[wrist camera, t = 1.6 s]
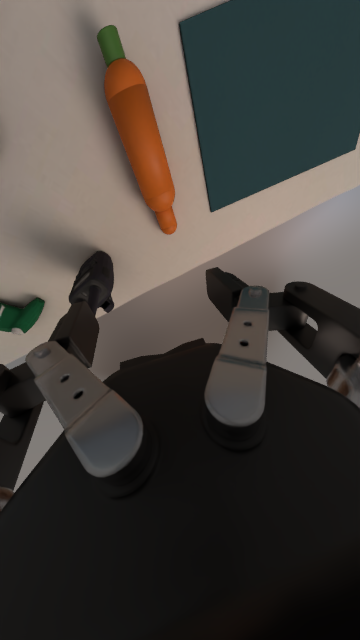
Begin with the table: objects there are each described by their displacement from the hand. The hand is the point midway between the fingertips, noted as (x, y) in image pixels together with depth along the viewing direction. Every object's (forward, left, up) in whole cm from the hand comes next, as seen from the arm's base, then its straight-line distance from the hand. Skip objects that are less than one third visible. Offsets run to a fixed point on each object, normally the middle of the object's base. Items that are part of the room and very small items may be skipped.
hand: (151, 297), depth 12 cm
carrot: (-7, +5, -19) cm, 21 cm away
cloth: (-6, +24, -19) cm, 31 cm away
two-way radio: (+3, -7, -19) cm, 20 cm away
